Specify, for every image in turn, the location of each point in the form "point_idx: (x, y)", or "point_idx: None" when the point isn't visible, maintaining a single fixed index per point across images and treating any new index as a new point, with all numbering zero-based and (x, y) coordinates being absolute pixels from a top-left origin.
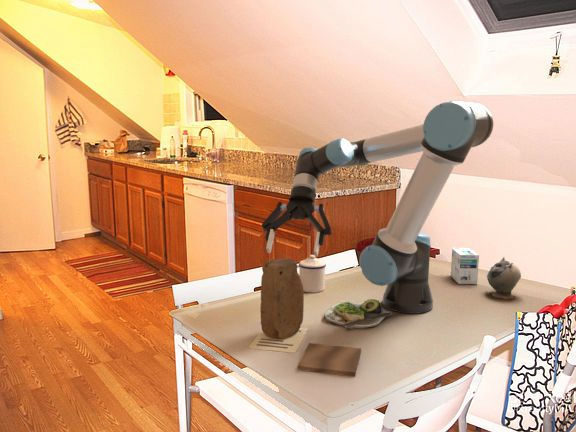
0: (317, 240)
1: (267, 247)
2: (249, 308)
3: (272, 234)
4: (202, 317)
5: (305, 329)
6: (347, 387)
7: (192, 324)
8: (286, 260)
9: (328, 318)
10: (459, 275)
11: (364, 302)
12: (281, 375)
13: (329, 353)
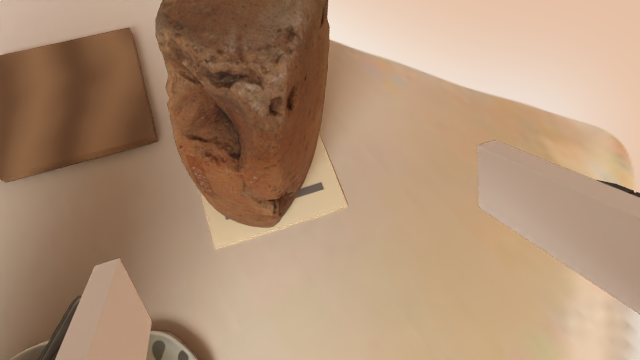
0: (69, 351)
1: (491, 143)
2: (488, 296)
3: (599, 219)
4: (533, 153)
5: (218, 235)
6: (4, 22)
7: (509, 104)
8: (222, 18)
9: (169, 337)
10: None
11: None
12: (155, 4)
13: (78, 109)
